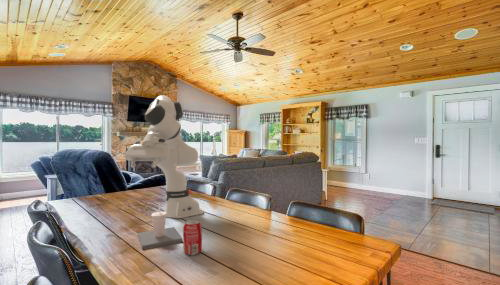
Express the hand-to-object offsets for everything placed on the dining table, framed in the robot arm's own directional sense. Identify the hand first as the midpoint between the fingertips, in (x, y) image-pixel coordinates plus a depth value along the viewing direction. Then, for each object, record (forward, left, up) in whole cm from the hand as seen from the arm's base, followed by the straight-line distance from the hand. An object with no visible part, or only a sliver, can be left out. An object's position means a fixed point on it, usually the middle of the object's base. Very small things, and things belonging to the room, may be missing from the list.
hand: (142, 166), depth 116 cm
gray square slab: (-6, +8, -31) cm, 33 cm away
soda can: (-15, +28, -31) cm, 44 cm away
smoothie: (-6, +8, -30) cm, 31 cm away
